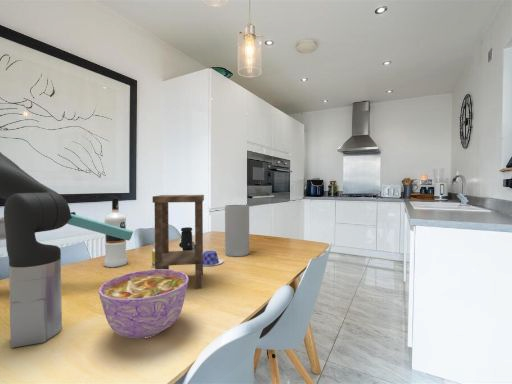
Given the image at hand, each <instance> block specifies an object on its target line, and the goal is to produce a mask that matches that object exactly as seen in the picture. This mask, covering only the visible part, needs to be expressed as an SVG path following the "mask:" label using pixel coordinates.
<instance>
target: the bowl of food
mask: <svg viewBox="0 0 512 384" xmlns="http://www.w3.org/2000/svg"><path fill="white" fill-rule="evenodd" d="M189 280H190V278H189V277H188V274H186V273H184V272H183V271H179V270H174V269H169V270H166V269H156V270H155V269H147V270H138V271H133V272H129V273H128V272H127V273H125V274H121V275H119V276H116V277H113V278H111V279H109V280H106V281H105V282H104V283H103V284H101V285H100V286H99V289H98V296H99V299H100V302H101V305H102V310H103V312H104V313H103V314H104V316H105V318H106V322H107V323H108V326H109V327H110V328H111V330H112V331H113V332H114V333H116V334H117V335H118V336H119V335H120V336H121V337H125V338H127V337H128V338H133V339H137V338H142V339H146V338H145V337H148V338H151V337H150V336H152V337H154V336H157V335H158V334H160V333H161V332H162V331H163V332H164V331H165V330H167V328H170V327H171V326H172V325H174V323H176V321H177V320H178V318H179V317H180V314H181V312H182V309H183V307H184V306H183V305H184V302H185V298H186V295H187V294H186V293H187V289H188V285H189ZM156 334H157V335H156ZM153 335H154V336H153Z"/></svg>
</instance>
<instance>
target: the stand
mask: <svg viewBox="0 0 512 384" xmlns="http://www.w3.org/2000/svg"><path fill="white" fill-rule="evenodd" d="M204 201H205V195H204V194H161V195H160V194H159V195H154V196H152V203H154V244H155V247H154V248H155V267H154V270H156V269H166V270H170V266H185V265H186V266H188V265H189V266H190V265H194V267H195V272H194V273H195V277H194V278H195V283H194V284H195V286H194V287H195V289H196V290H199V289H202V288H203V287H202V284H203V281H202V280H203V278H202V276H204V265H203V253H204V242H203V241H204V239H203V238H204V237H203V235H204V234H203V230H204V229H203V227H204V226H203V223H204V221H203V219H204V218H203V216H204V215H203V211H204V209H203V208H204V206H203V205H204V204H203V202H204ZM169 203H194V224H195V225H194V229H195V230H194V240H195V241H194V244H195V250H191V251H183V250H175V251H174V250H171V251H170V250H169V249H170V247H169V244H170V242H169V240H170V239H169V233H170V232H169V231H170V230H169Z"/></svg>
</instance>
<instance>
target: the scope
mask: <svg viewBox="0 0 512 384" xmlns="http://www.w3.org/2000/svg"><path fill="white" fill-rule="evenodd" d="M180 231H181V234H180V235H181V237H180V238H181V239H180V241H181V242H180V243H179V244H178V245H179V248H181V249H182V251H191V250H195V241H193V232H192V231H193V228H192V227H190V226H189V227H187V226H186V227H181V228H180Z"/></svg>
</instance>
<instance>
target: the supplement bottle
mask: <svg viewBox="0 0 512 384" xmlns="http://www.w3.org/2000/svg"><path fill="white" fill-rule="evenodd" d="M153 247H154V248H153V249H152V250H151V252H152V253H151V267H153V268H155V243H153Z"/></svg>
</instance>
